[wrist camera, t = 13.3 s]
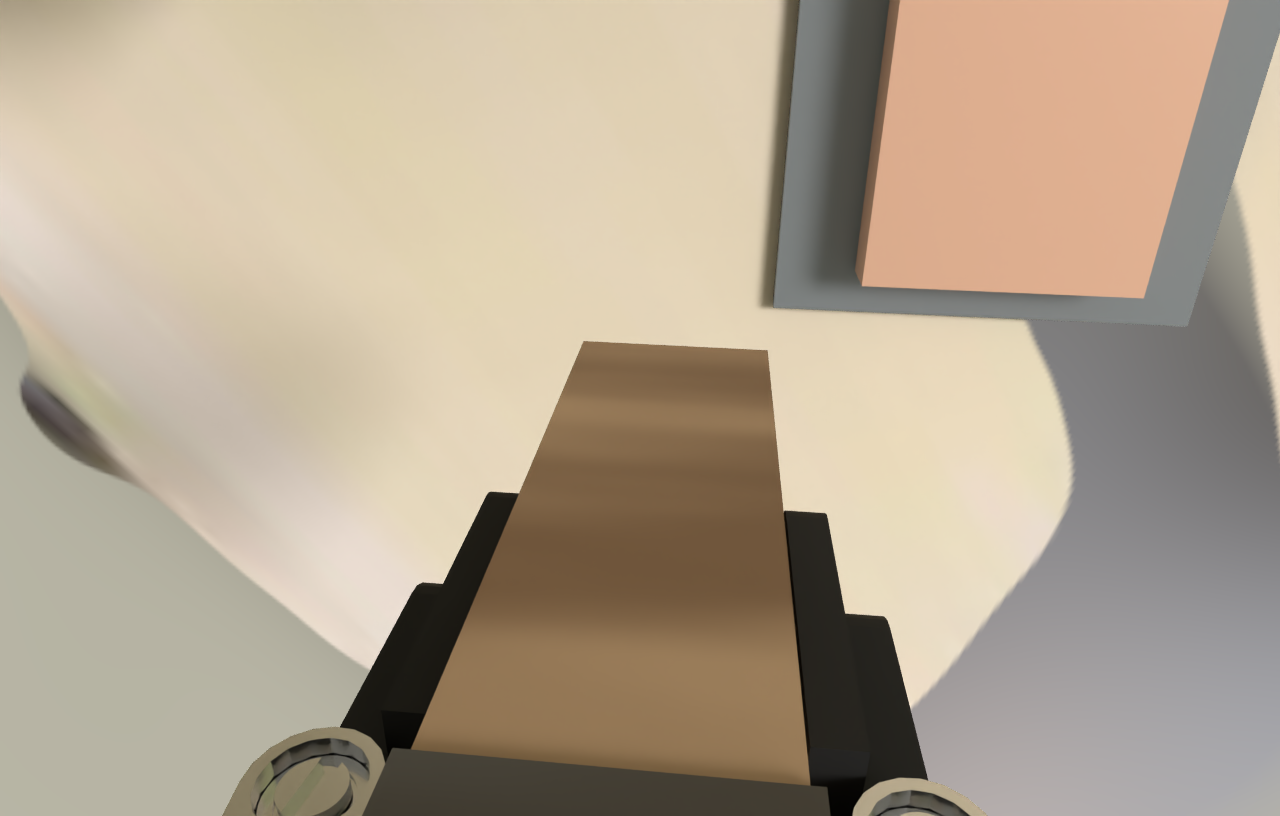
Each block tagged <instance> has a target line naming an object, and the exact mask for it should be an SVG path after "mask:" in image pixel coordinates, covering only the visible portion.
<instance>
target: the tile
mask: <svg viewBox="0 0 1280 816" xmlns="http://www.w3.org/2000/svg"><path fill="white" fill-rule="evenodd" d="M1228 2H1229V0H890V2H889V9H888V17H887V25H886V33H885V40H884V48H883V56H882V64H881V71H880V79H879V87H878V95H877V102H876V110H875V118H874V126H873V133H872V141H871V149H870V157H869V164H868V172H867V180H866V188H865V195H864V203H863V211H862V219H861V226H860V234H859V242H858V250H857V257H856V265H855V272H856V274H857V277H858V279H859V281H860V283H861V285H862V286H869V287H892V288H915V289H938V290H962V291H985V292H1008V293H1031V294H1054V295H1077V296H1100V297H1124V298H1144V296H1145V292H1146V289H1147V285H1148V282H1149V278H1150V275H1151V271H1152V268H1153V264H1154V261H1155V257H1156V254H1157V250H1158V247H1159V243H1160V240H1161V236H1162V233H1163V229H1164V226H1165V222H1166V219H1167V215H1168V212H1169V208H1170V205H1171V201H1172V198H1173V194H1174V191H1175V187H1176V184H1177V180H1178V177H1179V173H1180V170H1181V166H1182V163H1183V159H1184V156H1185V152H1186V149H1187V145H1188V142H1189V139H1190V135H1191V132H1192V128H1193V125H1194V121H1195V118H1196V114H1197V111H1198V107H1199V104H1200V100H1201V97H1202V93H1203V90H1204V86H1205V83H1206V79H1207V76H1208V72H1209V69H1210V65H1211V62H1212V58H1213V55H1214V51H1215V48H1216V44H1217V41H1218V37H1219V34H1220V30H1221V27H1222V23H1223V20H1224V16H1225V13H1226V9H1227V6H1228Z"/></svg>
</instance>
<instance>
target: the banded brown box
mask: <svg viewBox="0 0 1280 816" xmlns="http://www.w3.org/2000/svg"><path fill="white" fill-rule="evenodd" d="M362 816H830V807H829V799H828V791H827V787H820V786H810V775H809V765H808V755H807V745H806V735H805V725H804V715H803V705H802V695H801V684H800V674H799V664H798V654H797V644H796V634H795V624H794V614H793V603H792V593H791V583H790V573H789V563H788V553H787V543H786V533H785V522H784V512H783V502H782V492H781V482H780V472H779V462H778V452H777V442H776V431H775V421H774V411H773V401H772V391H771V381H770V371H769V361H768V351H767V350H747V349H728V348H708V347H688V346H668V345H648V344H628V343H608V342H588V341H584V342H583V344H582V346H581V349H580V351H579V353H578V356H577V358H576V361H575V363H574V365H573V368H572V370H571V372H570V375H569V377H568V379H567V382H566V384H565V386H564V389H563V391H562V394H561V396H560V398H559V401H558V403H557V405H556V408H555V410H554V412H553V415H552V417H551V420H550V422H549V424H548V427H547V429H546V431H545V434H544V436H543V438H542V441H541V443H540V446H539V448H538V450H537V453H536V455H535V457H534V460H533V462H532V464H531V467H530V469H529V472H528V474H527V476H526V479H525V481H524V483H523V486H522V488H521V490H520V493H519V495H518V497H517V500H516V502H515V505H514V507H513V509H512V512H511V514H510V516H509V519H508V521H507V523H506V526H505V528H504V531H503V533H502V535H501V538H500V540H499V542H498V545H497V547H496V549H495V552H494V554H493V557H492V559H491V561H490V564H489V566H488V568H487V571H486V573H485V575H484V578H483V580H482V582H481V585H480V587H479V590H478V592H477V594H476V597H475V599H474V601H473V604H472V606H471V608H470V611H469V613H468V616H467V618H466V620H465V623H464V625H463V627H462V630H461V632H460V634H459V637H458V639H457V642H456V644H455V646H454V649H453V651H452V653H451V656H450V658H449V660H448V663H447V665H446V668H445V670H444V672H443V675H442V677H441V679H440V682H439V684H438V686H437V689H436V691H435V693H434V696H433V698H432V701H431V703H430V705H429V708H428V710H427V712H426V715H425V717H424V719H423V722H422V724H421V727H420V729H419V731H418V734H417V736H416V738H415V741H414V743H413V745H412V748H411V749H400V748H392V750H391V752H390V754H389V757H388V759H387V761H386V763H385V766H384V768H383V770H382V772H381V774H380V777H379V779H378V781H377V783H376V786H375V788H374V790H373V792H372V795H371V797H370V799H369V801H368V803H367V806H366V808H365V810H364V812H363V815H362Z"/></svg>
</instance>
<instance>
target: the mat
mask: <svg viewBox="0 0 1280 816" xmlns="http://www.w3.org/2000/svg"><path fill="white" fill-rule="evenodd" d="M889 2H890V0H799V9H798V20H797V32H796V43H795V55H794V66H793V78H792V89H791V101H790V112H789V124H788V135H787V147H786V158H785V170H784V181H783V193H782V204H781V216H780V227H779V239H778V250H777V262H776V273H775V284H774V296H773V307H774V308H790V309H812V310H834V311H856V312H878V313H900V314H922V315H944V316H966V317H988V318H1009V319H1031V320H1032V319H1033V320H1054V321H1076V322H1098V323H1119V324H1141V325H1142V324H1143V325H1163V326H1185V327H1187V326H1188V323H1189V319H1190V316H1191V313H1192V310H1193V306H1194V304H1195V300H1196V297H1197V294H1198V291H1199V288H1200V284H1201V281H1202V278H1203V275H1204V272H1205V268H1206V265H1207V262H1208V259H1209V256H1210V253H1211V250H1212V246H1213V243H1214V240H1215V237H1216V233H1217V230H1218V227H1219V224H1220V220H1221V218H1222V214H1223V211H1224V208H1225V205H1226V202H1227V199H1228V195H1229V192H1230V189H1231V186H1232V183H1233V180H1234V176H1235V173H1236V170H1237V167H1238V164H1239V160H1240V157H1241V154H1242V151H1243V148H1244V145H1245V141H1246V138H1247V135H1248V132H1249V129H1250V125H1251V122H1252V119H1253V116H1254V113H1255V110H1256V106H1257V103H1258V100H1259V97H1260V94H1261V90H1262V87H1263V84H1264V81H1265V78H1266V75H1267V71H1268V68H1269V65H1270V62H1271V59H1272V55H1273V52H1274V49H1275V46H1276V43H1277V40H1278V36H1279V33H1280V0H1229V2H1228V6H1227V9H1226V13H1225V16H1224V20H1223V23H1222V27H1221V30H1220V34H1219V37H1218V41H1217V44H1216V48H1215V51H1214V55H1213V58H1212V62H1211V65H1210V69H1209V72H1208V76H1207V79H1206V83H1205V86H1204V90H1203V93H1202V97H1201V100H1200V104H1199V107H1198V111H1197V114H1196V118H1195V121H1194V125H1193V128H1192V132H1191V135H1190V139H1189V142H1188V145H1187V149H1186V152H1185V156H1184V159H1183V163H1182V166H1181V170H1180V173H1179V177H1178V180H1177V184H1176V187H1175V191H1174V194H1173V198H1172V201H1171V205H1170V208H1169V212H1168V215H1167V219H1166V222H1165V226H1164V229H1163V233H1162V236H1161V240H1160V243H1159V247H1158V250H1157V254H1156V257H1155V261H1154V264H1153V268H1152V271H1151V275H1150V278H1149V282H1148V285H1147V289H1146V292H1145V296H1144V298H1124V297H1100V296H1077V295H1054V294H1031V293H1008V292H985V291H962V290H938V289H915V288H892V287H869V286H862V285H861V283H860V281H859V279H858V277H857V274H856V272H855V265H856V257H857V250H858V242H859V234H860V226H861V219H862V211H863V203H864V195H865V188H866V180H867V172H868V164H869V157H870V149H871V141H872V133H873V126H874V118H875V110H876V102H877V95H878V87H879V79H880V71H881V64H882V56H883V48H884V40H885V33H886V25H887V17H888V9H889Z"/></svg>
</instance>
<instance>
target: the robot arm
mask: <svg viewBox="0 0 1280 816" xmlns="http://www.w3.org/2000/svg"><path fill="white" fill-rule="evenodd" d="M518 495H519V494H518V493H503V492H489V493H488V494H487V496H486V498H485V500H484V502H483V504H482V506H481V508H480V510H479V512H478V514H477V516H476V518H475V520H474V522H473V524H472V526H471V528H470V530H469V532H468V534H467V536H466V538H465V540H464V542H463V544H462V546H461V548H460V550H459V552H458V554H457V556H456V559H455V561H454V563H453V565H452V567H451V569H450V571H449V573H448V575H447V577H446V579H445V581H444V583H443V584H436V583H421V584H419V585H417V586H416V588H415V589H414V591H413V592H412V594H411V596H410V598H409V599H408V601H407V603H406V605H405V607H404V609H403V611H402V612H401V614H400V616H399V618H398V620H397V622H396V624H395V625H394V627H393V629H392V631H391V633H390V635H389V637H388V638H387V640H386V642H385V644H384V646H383V648H382V650H381V652H380V653H379V655H378V657H377V659H376V661H375V663H374V665H373V666H372V668H371V670H370V672H369V674H368V676H367V678H366V680H365V681H364V683H363V685H362V687H361V689H360V691H359V693H358V694H357V696H356V698H355V700H354V702H353V704H352V706H351V707H350V709H349V711H348V713H347V715H346V717H345V719H344V720H343V722H342V724H341V726H340V727H328V728H320V729H312V730H309V731H306V732H303V733H299V734H297V735H293V736H291V737H289V738H287V739H285V740H283V741H282V742H280V743H278V744H276V745H275V746H273V747H271V748H269V749H268V750H267V751H266V752H265V753H264V754H263V755H261V756H260V757H259V758H258V759H257V760H256V761H255V762H253V763H252V765H251V766H250V767H249V769H248V770H247V772H246V773H245V775H244V776H243V777H242V779H241V780H240V782H239V784H238V786H237V788H236V790H235V792H234V793H233V795H232V797H231V799H230V802H229V803H228V805H227V807H226V809H225V811H224V813H223V815H222V816H362V815H363V812H364V810H365V808H366V806H367V803H368V801H369V799H370V797H371V795H372V792H373V790H374V788H375V786H376V783H377V781H378V779H379V777H380V774H381V772H382V770H383V768H384V766H385V763H386V761H387V759H388V757H389V754H390V752H391V750H392V748H400V749H411V748H412V745H413V743H414V741H415V738H416V736H417V734H418V731H419V729H420V727H421V724H422V722H423V719H424V717H425V715H426V712H427V710H428V708H429V705H430V703H431V701H432V698H433V696H434V693H435V691H436V689H437V686H438V684H439V682H440V679H441V677H442V675H443V672H444V670H445V668H446V665H447V663H448V660H449V658H450V656H451V653H452V651H453V649H454V646H455V644H456V642H457V639H458V637H459V634H460V632H461V630H462V627H463V625H464V623H465V620H466V618H467V616H468V613H469V611H470V608H471V606H472V604H473V601H474V599H475V597H476V594H477V592H478V590H479V587H480V585H481V582H482V580H483V578H484V575H485V573H486V571H487V568H488V566H489V564H490V561H491V559H492V557H493V554H494V552H495V549H496V547H497V545H498V542H499V540H500V538H501V535H502V533H503V531H504V528H505V526H506V523H507V521H508V519H509V516H510V514H511V512H512V509H513V507H514V505H515V502H516V500H517V497H518ZM784 522H785V533H786V543H787V553H788V563H789V573H790V583H791V593H792V603H793V614H794V624H795V634H796V644H797V654H798V664H799V674H800V684H801V695H802V705H803V715H804V725H805V735H806V745H807V755H808V765H809V775H810V786H820V787H827V791H828V799H829V807H830V816H987V815H986V813H985V812H983V811H982V810H981V809H980V808H979V807H977V806H976V805H975V804H974V803H973V802H971V801H970V800H969V799H968V798H967V797H965V796H963V795H961V794H960V793H958V792H956V791H954V790H952V789H950V788H948V787H946V786H944V785H942V784H938V783H934V782H931V781H928V778H927V774H926V770H925V766H924V762H923V758H922V754H921V750H920V746H919V742H918V738H917V734H916V730H915V726H914V722H913V718H912V714H911V710H910V706H909V702H908V698H907V694H906V690H905V686H904V682H903V678H902V674H901V670H900V666H899V662H898V658H897V654H896V650H895V646H894V642H893V638H892V634H891V630H890V627H889V624H888V621H887V619H886V618H885V617H884V616H870V615H857V614H845V611H844V605H843V600H842V594H841V589H840V583H839V578H838V572H837V567H836V562H835V556H834V551H833V545H832V540H831V534H830V529H829V523H828V518H827V515H826V514H825V513H813V512H798V511H784Z"/></svg>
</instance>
